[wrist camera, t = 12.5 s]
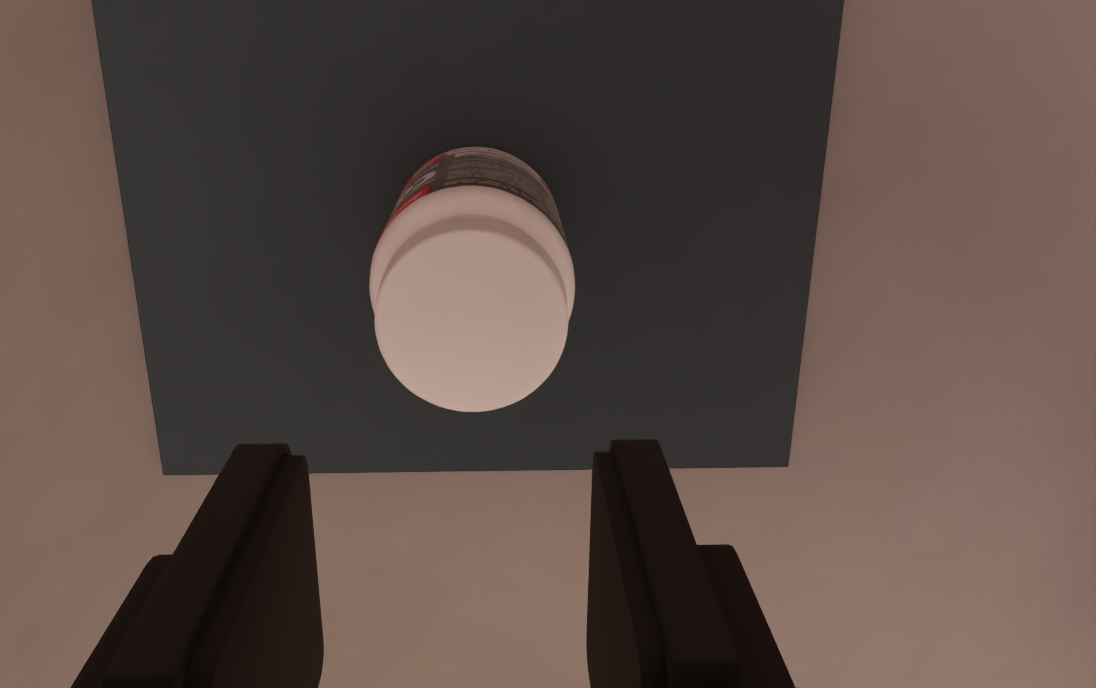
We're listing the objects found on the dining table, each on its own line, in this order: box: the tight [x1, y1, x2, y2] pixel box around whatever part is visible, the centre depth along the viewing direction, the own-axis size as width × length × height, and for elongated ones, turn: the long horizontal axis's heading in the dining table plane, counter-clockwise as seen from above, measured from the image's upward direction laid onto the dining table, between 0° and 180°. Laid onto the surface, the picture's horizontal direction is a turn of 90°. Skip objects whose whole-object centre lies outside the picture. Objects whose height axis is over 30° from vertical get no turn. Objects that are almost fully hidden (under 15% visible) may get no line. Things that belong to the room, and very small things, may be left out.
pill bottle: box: [369, 147, 575, 412], centre depth 23 cm, size 5×5×8 cm
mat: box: [91, 0, 844, 475], centre depth 27 cm, size 20×16×1 cm
